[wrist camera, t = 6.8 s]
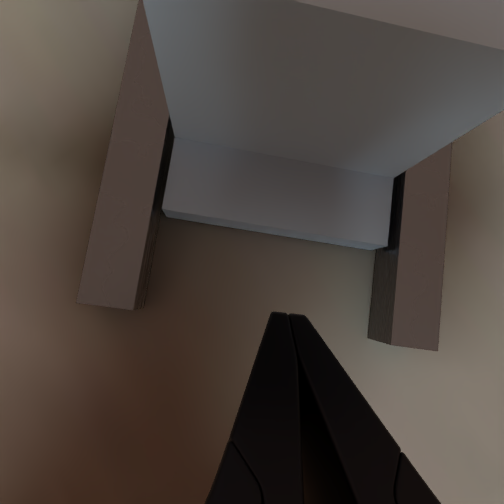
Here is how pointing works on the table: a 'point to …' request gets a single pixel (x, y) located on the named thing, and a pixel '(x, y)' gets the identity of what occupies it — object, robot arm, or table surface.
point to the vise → (152, 193)
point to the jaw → (317, 105)
